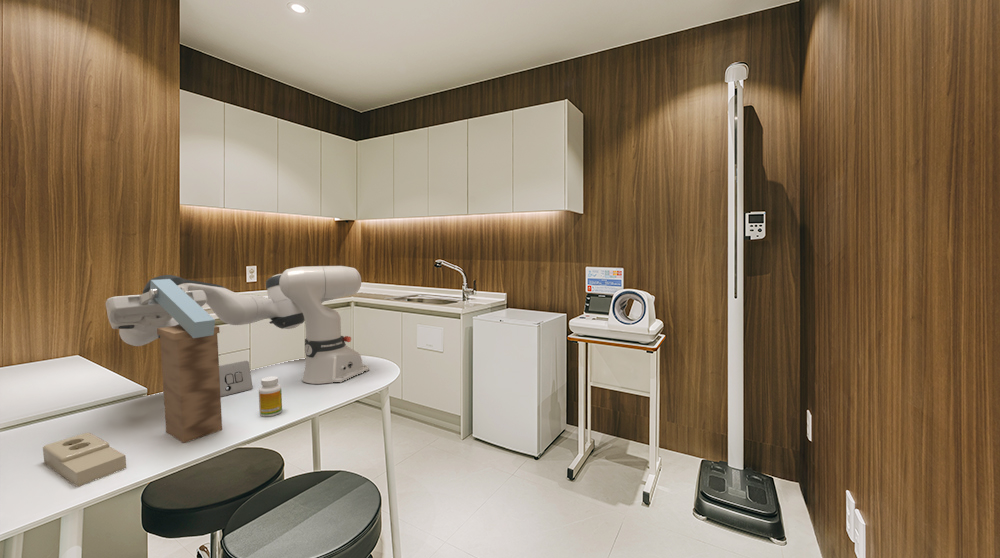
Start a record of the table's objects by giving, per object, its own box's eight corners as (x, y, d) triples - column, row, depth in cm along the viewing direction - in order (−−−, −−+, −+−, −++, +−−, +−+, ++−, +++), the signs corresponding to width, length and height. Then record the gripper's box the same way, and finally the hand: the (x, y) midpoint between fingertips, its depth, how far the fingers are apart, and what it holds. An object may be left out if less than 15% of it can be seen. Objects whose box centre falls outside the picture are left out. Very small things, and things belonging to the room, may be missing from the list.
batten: (168, 292, 105) (170, 279, 104) (213, 335, 93) (215, 319, 92) (149, 294, 102) (150, 280, 101) (193, 338, 90) (194, 322, 89)
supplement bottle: (285, 412, 109) (283, 378, 108) (263, 419, 105) (261, 383, 104) (278, 407, 113) (277, 374, 112) (257, 413, 109) (255, 378, 108)
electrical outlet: (75, 468, 75) (42, 445, 83) (77, 488, 75) (43, 464, 84) (125, 450, 81) (89, 431, 89) (126, 469, 82) (90, 448, 90)
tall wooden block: (206, 419, 104) (200, 322, 102) (224, 429, 99) (219, 326, 97) (163, 432, 97) (156, 328, 95) (180, 444, 91) (174, 333, 89)
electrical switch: (218, 398, 119) (216, 367, 119) (213, 395, 122) (210, 365, 122) (253, 389, 126) (251, 360, 126) (247, 387, 130) (245, 359, 129)
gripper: (200, 317, 115) (218, 297, 109) (103, 330, 98) (118, 306, 91) (194, 298, 117) (211, 277, 110) (97, 307, 99) (111, 282, 92)
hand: (168, 290), depth 100 cm, fingers closed on batten, 4 cm apart
